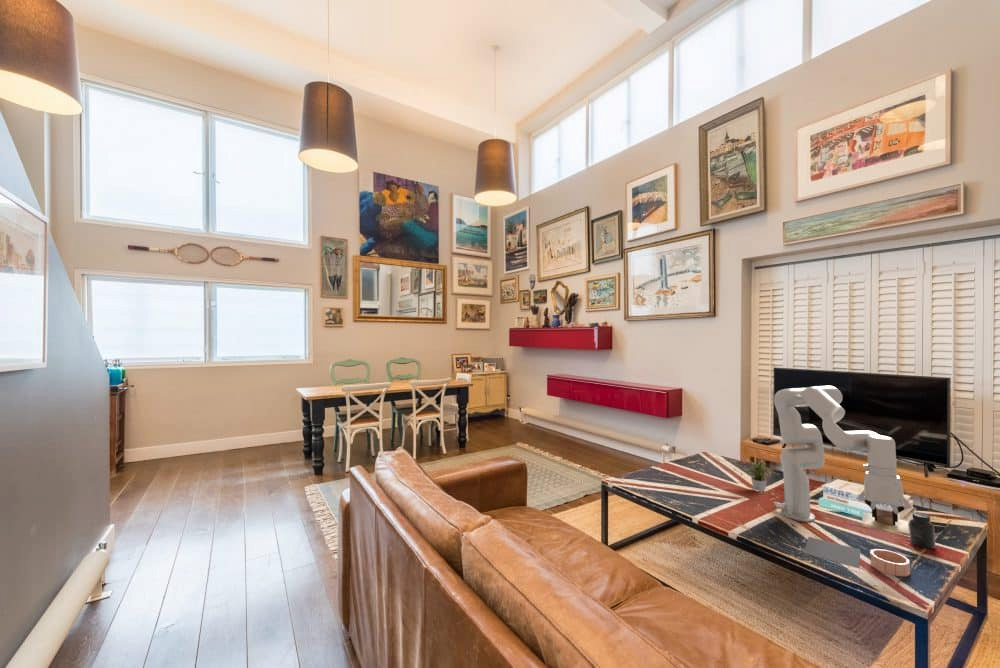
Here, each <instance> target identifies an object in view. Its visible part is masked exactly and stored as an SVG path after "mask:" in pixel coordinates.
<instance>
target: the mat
mask: <svg viewBox="0 0 1000 668" xmlns="http://www.w3.org/2000/svg"><path fill="white" fill-rule="evenodd" d="M803 553H804V554H806V555H809V556H813V557H817V558H819V559H823V560H827V561H830V562H835V563H838V564H842V565H846V566H849V567H852V568H853V567H854V568H856V569H860V568H861V549H860V548H855V547H852V546H848V545H844V544H840V543H835V542H831V541H828V540H824V539H823V540H822V539H820V538H816V537H812V536H808V538H807V541H806V545H805V549H804V552H803Z"/></svg>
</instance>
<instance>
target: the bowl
mask: <svg viewBox="0 0 1000 668" xmlns="http://www.w3.org/2000/svg"><path fill="white" fill-rule="evenodd" d="M870 565H871V566H872V567H874V568H875V569H877V570H878V571H880V572H882V573H884V574H888V575H891V576H895V577H909V576H910V575H911V562H910V559H908V557H906V556H904V555H903V554H900V553H898V552H895V551H891V550H889V549H888V550H887V549H884V548H883V549H881V548H874V549H870Z"/></svg>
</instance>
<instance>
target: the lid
mask: <svg viewBox="0 0 1000 668" xmlns="http://www.w3.org/2000/svg"><path fill="white" fill-rule="evenodd" d="M876 508H877V521H875V517H872V513H869V512H865V511H863V512H862V518H861V526H862V527H866V528H871V529H875V530H880V531H884V532H889V533H893V534H897V535H903V536H905V537H906V536H907V537H910V525H909V520H904V519H899V518H898V522H895V525H893V519H892V511H893V508H892V507H889V506H883V505H878V504H876Z"/></svg>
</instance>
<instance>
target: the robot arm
mask: <svg viewBox="0 0 1000 668" xmlns="http://www.w3.org/2000/svg"><path fill="white" fill-rule="evenodd" d="M843 398H844V397H843V394H842V392H841V390H839V388H837V387H835V386H833V385H818V386H817V385H815V386H813V385H812V386H809V387H808V386H807V387H795V388H794V387H792V388H791V387H790V388H784V389H780V390H778V391H776V393H775V394H774V397H773V403H774V406H775V409H776V411H777V414H778V423H779V428H780V429H779V430H780V435H781V439H782V441H783V443H784V444H786V445H789V446H805V447H788V448H785V449H782V450H781V452H780V454H779V458H780V463H781V466H782V467H781V468H782V473H783V487H784V489H783V490H784V502H781V503H780V502H779V501H778V502H777V501H774V502H773V506H774V507H776V509H781V511H780V512H782V513H781V514H782V515H783V516H784V515H785V516H786V518H787V517H788V519H790V518H791V519H790V520H793V519H794V520H793V521H798V522H802V523H803V522H806V523H807V522H813V521H815V520H816V516H815V514H814V513H813V512H811V497H810V481H809V480H810V479H809V477H808V475H807V474H806V473H805V471H804V470H808V469H811V470H812V469H813V470H814V469H821V468H823V467H824V466H825V462H826V458H825V457H826V456H825V449H824V441H823V436H822V432H821V431H820V429H819V428H818V427H817V426H816V425H814V424H813V423H802V418H801V414H800V413H799V411H798V410H797V408H796V407H809V408H810V409H811V410H812V411H813V412H815V414H816V415H818V417H820V418H821V419H822V423H821V424H822V430H823V432H824V434H825V437H827V439H828V440H829V441H830V442H831V443H832V444H833V445H834V446H835V447H836V448H838V449H840V450H842V451H844V452H848V453H849V452H853V453H854V452H866V453H867V455H866V456H867V463H866V464H862V469H865V470H867V471H865V474H864V478H863V479H864V480H863V483H864V484H863V490H862V491H861V493H859V494H858V496H857V499H859V500H861V501H862V502H863V503H865V505H867V506H868V507H869V508H870V509H871V514H872V517H875V521H877V504H883V505H888V506H891V508H892V519H893V525H895V522H898V519H899V516H898V514H900V513H901V512H903V511H905V510H909V509H912V504H911V503H910V502H909V501H908V500H907V499H906V498H905V496H904V489H903V483H902V479H901V477H900V476H899V475H898V469H897V455H896V454H897V451H896V449H897V448H896V441H895V440H894V438H893V437H890V436H887V435H881V434H878V433H877V432H874V431H872V430H843V429H842V428H841V427H840V426H839V425H838V424H837V423H838V422H839V421H841V420H842V419H843V418H844V416H845V414H846V410H845V409H844V408H843V407H842V406H841V405H840V404H841V403H842V401H843ZM785 516H784V517H785Z"/></svg>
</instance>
